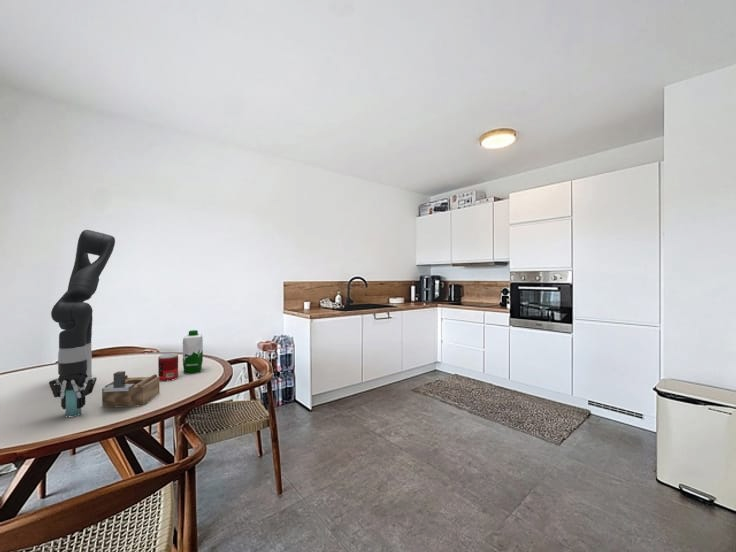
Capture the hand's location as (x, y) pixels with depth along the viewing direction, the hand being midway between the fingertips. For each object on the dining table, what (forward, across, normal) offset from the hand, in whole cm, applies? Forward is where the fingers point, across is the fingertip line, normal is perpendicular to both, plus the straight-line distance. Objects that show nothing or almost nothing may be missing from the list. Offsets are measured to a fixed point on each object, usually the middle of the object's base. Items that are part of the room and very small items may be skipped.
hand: (73, 407), depth 113 cm
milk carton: (+3, -22, -46) cm, 51 cm away
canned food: (+3, -15, -36) cm, 39 cm away
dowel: (+2, 0, 0) cm, 2 cm away
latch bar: (-5, -13, -3) cm, 14 cm away
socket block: (+2, -13, -11) cm, 17 cm away
